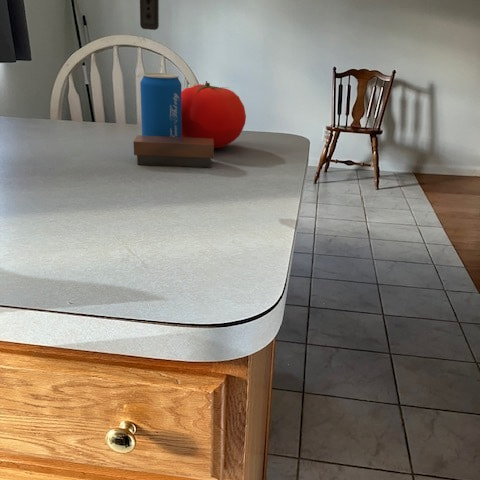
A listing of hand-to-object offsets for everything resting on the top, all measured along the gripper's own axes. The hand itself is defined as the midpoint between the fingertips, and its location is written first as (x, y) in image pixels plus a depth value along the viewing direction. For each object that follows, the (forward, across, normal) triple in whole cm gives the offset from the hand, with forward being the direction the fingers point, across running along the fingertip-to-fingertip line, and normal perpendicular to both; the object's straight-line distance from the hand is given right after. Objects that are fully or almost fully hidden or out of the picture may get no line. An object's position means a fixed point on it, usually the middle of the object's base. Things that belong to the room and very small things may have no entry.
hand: (149, 29), depth 68 cm
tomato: (+19, -22, +9) cm, 30 cm away
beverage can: (+19, -16, +1) cm, 24 cm away
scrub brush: (+18, -8, +3) cm, 21 cm away
